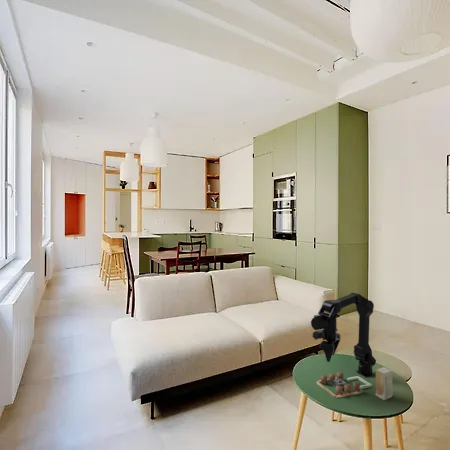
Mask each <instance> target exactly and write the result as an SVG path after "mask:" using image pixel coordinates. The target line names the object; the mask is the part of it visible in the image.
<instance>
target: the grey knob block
mask: <svg viewBox="0 0 450 450" xmlns="http://www.w3.org/2000/svg"><path fill="white" fill-rule="evenodd" d="M345 384H348V383H347V381H344V379H343V380H342V379H335V380H333V383H332V386H333V387H334V388H335V389H336V386H341V387H343V390H344V385H345Z"/></svg>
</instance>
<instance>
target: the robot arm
mask: <svg viewBox="0 0 450 450" xmlns="http://www.w3.org/2000/svg"><path fill="white" fill-rule="evenodd" d="M353 304H354V305H355V308H356V312H357V313H358V342H357V343H356V344H355V345H354V346H353V354H354V357H355V360H356V361H358V365H357V367H358V368H357V369H358V370H356V372H357V373H358V374H360V375H361V376H363V377H365V378H368V377H373V376H374V377H375V376H376V373H373V366H375V365H376V363H377V359H376V358H375V357H374V356H373V351H372V348H371V346H370V344H369V342H370V317H371V316H372V314H373V313H374V307H375V304H374V302H373V301H372V300H369V299H368V298H366V297H364V296H363V295H361V294H360V293H356V292H350V293H349V294H347V295H344V296H342V297H339V298H337V299H327V300H324V301H323V302H322V305H321V307H320V308H319V311H317V314H314V315H313V317H312V318H311V321H310V325H311V327H312V329H313V330H314V331H313V332H312V338H313V339H314V341H317V340H320V339H322V340H321V342H320V343H319V349H320V350H322V351H323V352H324V354H325V360H326V362H327V363H330V362H331V359H332V357H333V356H334V355H335V353H336V351H337V349H338V347H339V344H340V342H341V340H342V339H341V338H342V337H341V336H342V335H341V334H340V333H339V332H338V328H337V327H338V326H337V325H338V324H337V323H338V322H337V319H338V318H340V317H341V316H340V315H339V313H340V312H341V311H342V309H343V308H346V307H348V306H351V305H353Z"/></svg>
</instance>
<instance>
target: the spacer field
mask: <svg viewBox="0 0 450 450" xmlns="http://www.w3.org/2000/svg"><path fill="white" fill-rule="evenodd" d="M335 379H342V380H343V381H344V372H342V371H338V372H336V374H335V373H332V372H330V373H328V375H327V374H321V375H320V379H319V380H316V381H315V382H316V384H317V385H318V386H319V387H321V388H322V389H323V390H324V391H326V392H327V393H328V394H330V395H331V396H332V397H333V398H336V399H340V398H345V397H350V396H355V395H358V394H363V392H364V391H363V390H361V389H360V386H361V384H360V383H359V382H355V381H354V382H352V385H351V384H349V383H347V384H345V385H344V391H343V387H341V386H336V388H335V393H333V392H332V391H331V390H330V389H329V388H327V387H325V385H328V382H329V383H331V384H333V380H335ZM343 392H344V393H343Z"/></svg>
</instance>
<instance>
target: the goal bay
mask: <svg viewBox="0 0 450 450" xmlns="http://www.w3.org/2000/svg"><path fill="white" fill-rule="evenodd" d="M355 380H358V381H360V382H362V383H363V384H360V390H363V389H367V388H372V387H373V384H372V383H370V382H369V381H367V380H365V379H364V378H362V377H360V376H358V375H357V376H356V375H355V376H350V377H347V378H346V381H348V382H350V381H355Z"/></svg>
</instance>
